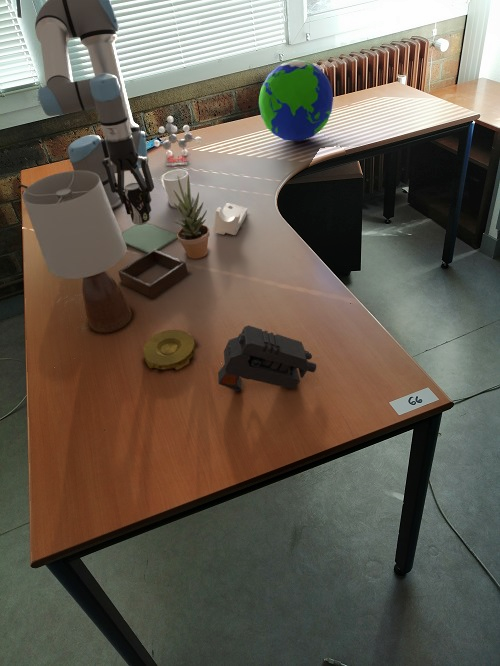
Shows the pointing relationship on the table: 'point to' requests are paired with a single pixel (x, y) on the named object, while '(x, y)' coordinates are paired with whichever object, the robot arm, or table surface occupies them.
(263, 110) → the globe
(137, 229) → the mat
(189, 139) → the molecule model
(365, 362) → the table surface
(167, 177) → the mug
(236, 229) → the bracket
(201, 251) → the potted plant
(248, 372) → the tool
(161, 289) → the holder
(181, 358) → the yellow flat disc
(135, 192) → the beverage can
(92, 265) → the lamp
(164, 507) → the table surface
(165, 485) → the table surface
